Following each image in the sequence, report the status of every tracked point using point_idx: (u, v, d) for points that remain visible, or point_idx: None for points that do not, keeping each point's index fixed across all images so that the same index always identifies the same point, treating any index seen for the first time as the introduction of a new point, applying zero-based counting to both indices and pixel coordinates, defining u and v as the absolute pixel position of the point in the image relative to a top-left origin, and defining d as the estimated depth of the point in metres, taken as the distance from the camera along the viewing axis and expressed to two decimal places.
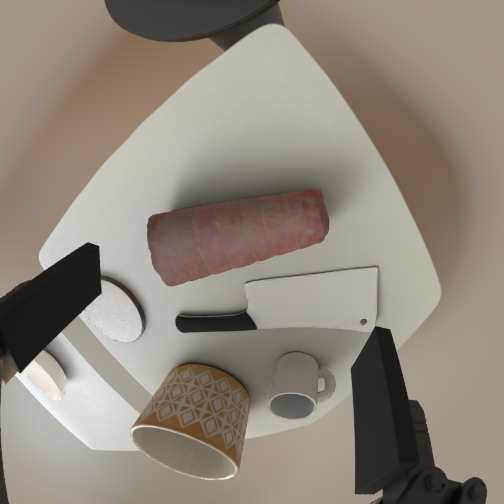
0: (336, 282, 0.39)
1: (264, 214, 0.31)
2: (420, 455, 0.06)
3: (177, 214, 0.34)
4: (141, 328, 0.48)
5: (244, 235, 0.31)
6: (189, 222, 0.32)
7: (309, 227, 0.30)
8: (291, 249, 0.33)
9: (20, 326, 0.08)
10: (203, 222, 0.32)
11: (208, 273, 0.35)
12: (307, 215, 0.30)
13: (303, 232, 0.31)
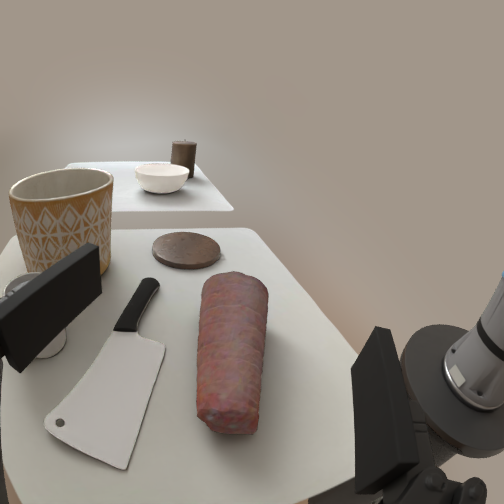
0: (126, 420, 0.25)
1: (252, 365, 0.29)
2: (420, 455, 0.06)
3: (266, 312, 0.38)
4: (161, 257, 0.54)
5: (239, 341, 0.30)
6: (261, 313, 0.36)
7: (228, 396, 0.25)
8: (205, 377, 0.27)
9: (20, 326, 0.08)
10: (258, 321, 0.34)
11: (207, 307, 0.35)
12: (241, 399, 0.25)
13: (224, 390, 0.25)
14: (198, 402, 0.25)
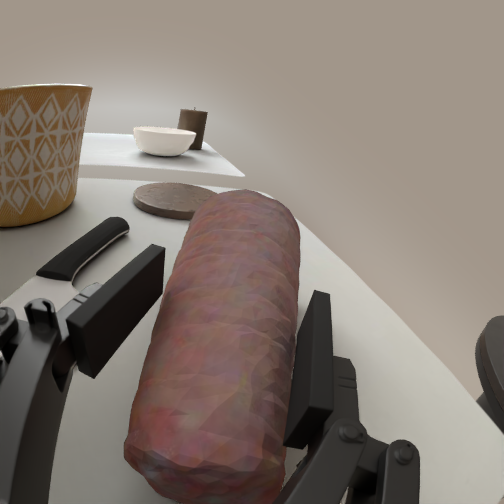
0: None
1: (276, 346, 0.12)
2: (342, 409, 0.08)
3: (299, 261, 0.21)
4: (142, 201, 0.38)
5: (248, 289, 0.14)
6: (292, 255, 0.19)
7: (205, 423, 0.08)
8: (154, 364, 0.10)
9: (99, 330, 0.09)
10: (288, 264, 0.18)
11: (192, 237, 0.19)
12: (243, 435, 0.08)
13: (196, 403, 0.08)
14: (130, 425, 0.09)
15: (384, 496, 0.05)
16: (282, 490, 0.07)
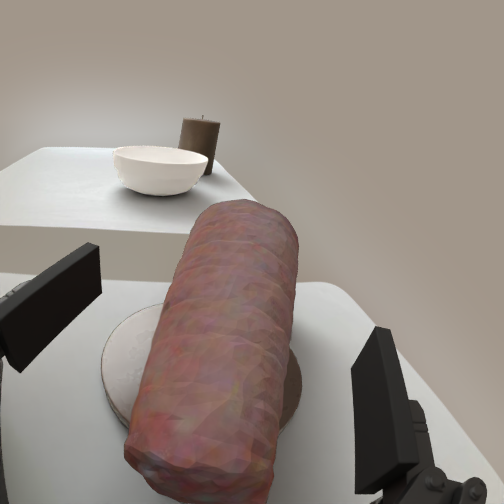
0: None
1: (269, 356, 0.12)
2: (419, 455, 0.06)
3: (296, 271, 0.22)
4: (123, 414, 0.14)
5: (243, 301, 0.14)
6: (289, 265, 0.20)
7: (198, 428, 0.08)
8: (153, 371, 0.11)
9: (20, 326, 0.08)
10: (284, 275, 0.18)
11: (192, 246, 0.20)
12: (233, 439, 0.09)
13: (191, 409, 0.09)
14: (130, 427, 0.09)
15: None
16: None
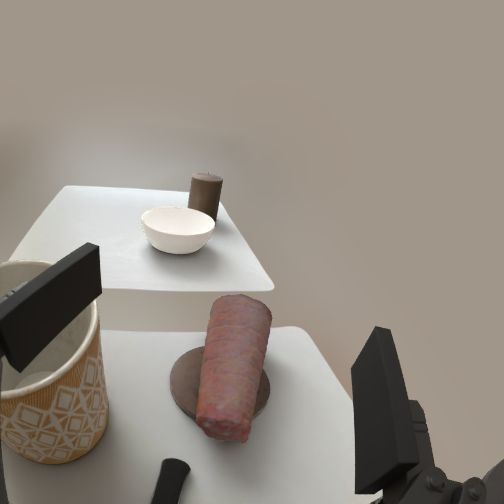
0: None
1: (249, 382, 0.31)
2: (420, 456, 0.06)
3: (268, 334, 0.41)
4: (186, 407, 0.33)
5: (239, 359, 0.33)
6: (263, 335, 0.39)
7: (224, 407, 0.27)
8: (206, 389, 0.30)
9: (20, 326, 0.08)
10: (259, 342, 0.37)
11: (214, 326, 0.39)
12: (236, 411, 0.28)
13: (222, 401, 0.28)
14: (198, 410, 0.28)
15: None
16: None
